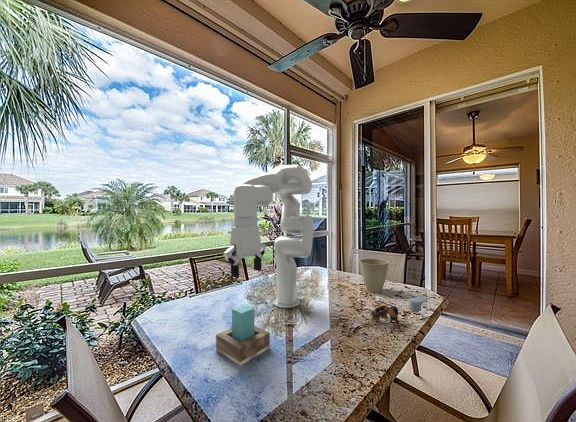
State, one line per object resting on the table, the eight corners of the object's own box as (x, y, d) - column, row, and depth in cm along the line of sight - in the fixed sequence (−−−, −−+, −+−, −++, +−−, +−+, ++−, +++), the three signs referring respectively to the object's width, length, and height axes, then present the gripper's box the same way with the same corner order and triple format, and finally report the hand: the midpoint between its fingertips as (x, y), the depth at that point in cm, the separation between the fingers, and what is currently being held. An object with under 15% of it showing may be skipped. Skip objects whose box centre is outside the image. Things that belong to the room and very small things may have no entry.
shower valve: (440, 300, 109) (419, 308, 101) (440, 313, 109) (419, 321, 101) (413, 292, 120) (392, 298, 112) (413, 303, 120) (392, 310, 112)
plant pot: (364, 284, 148) (364, 257, 147) (391, 289, 139) (391, 260, 139) (355, 291, 136) (355, 262, 135) (384, 297, 127) (384, 265, 127)
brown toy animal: (394, 335, 91) (382, 313, 92) (375, 336, 98) (363, 316, 100) (410, 317, 98) (398, 298, 100) (390, 320, 105) (380, 301, 107)
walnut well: (245, 335, 90) (245, 321, 90) (269, 348, 82) (269, 332, 82) (216, 350, 81) (216, 334, 81) (240, 365, 73) (240, 348, 73)
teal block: (244, 340, 85) (244, 304, 85) (254, 345, 81) (254, 308, 81) (232, 346, 81) (231, 308, 81) (242, 352, 78) (241, 313, 78)
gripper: (257, 220, 93) (258, 266, 94) (216, 223, 80) (218, 277, 81) (272, 221, 88) (272, 269, 89) (231, 225, 75) (232, 282, 76)
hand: (246, 273), depth 85 cm, fingers open, 9 cm apart
